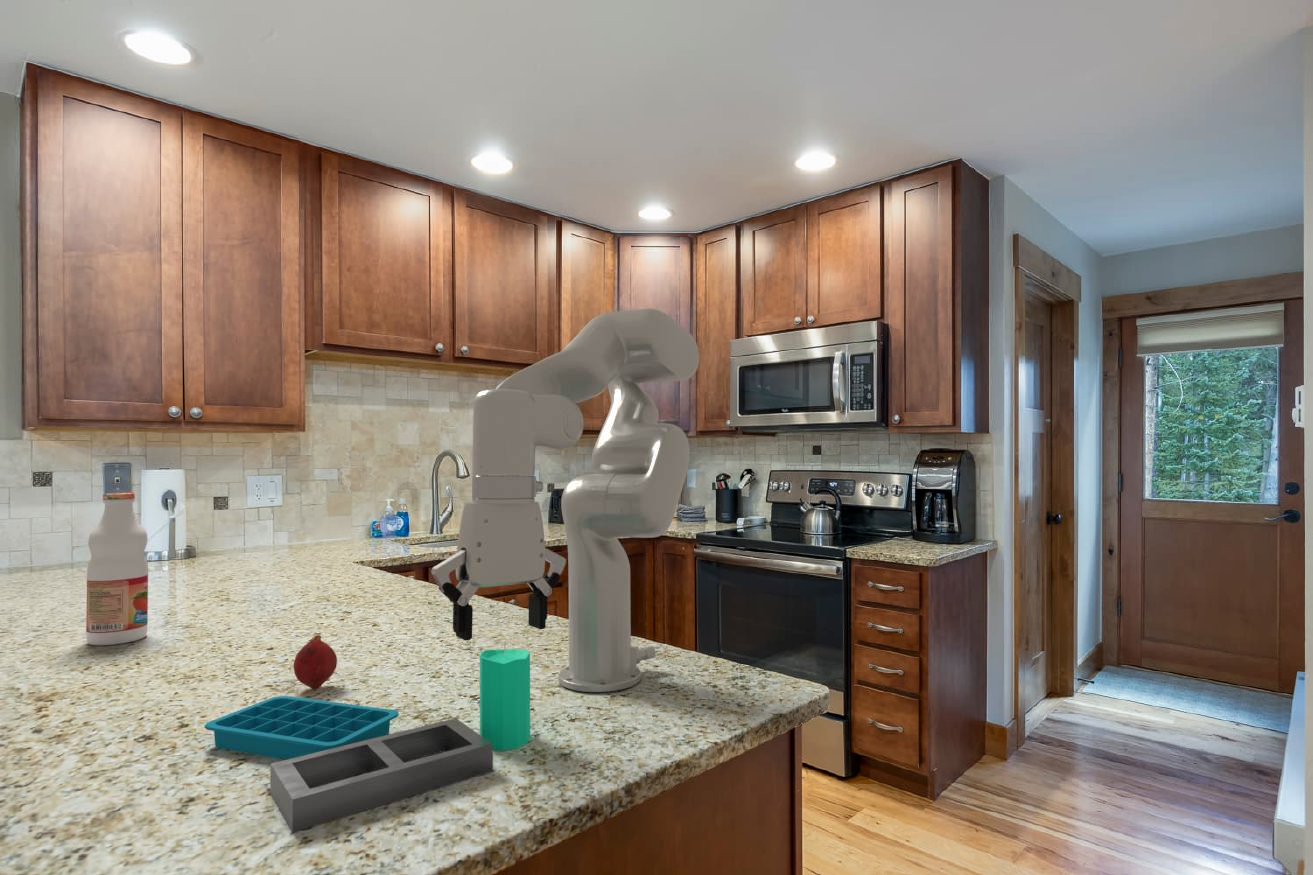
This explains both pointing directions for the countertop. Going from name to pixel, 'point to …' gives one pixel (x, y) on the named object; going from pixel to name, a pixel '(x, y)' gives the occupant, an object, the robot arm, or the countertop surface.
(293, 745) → the ice cube tray
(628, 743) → the countertop surface
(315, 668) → the onion
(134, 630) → the fruit juice
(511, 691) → the candle
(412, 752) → the hollow block
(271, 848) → the countertop surface
